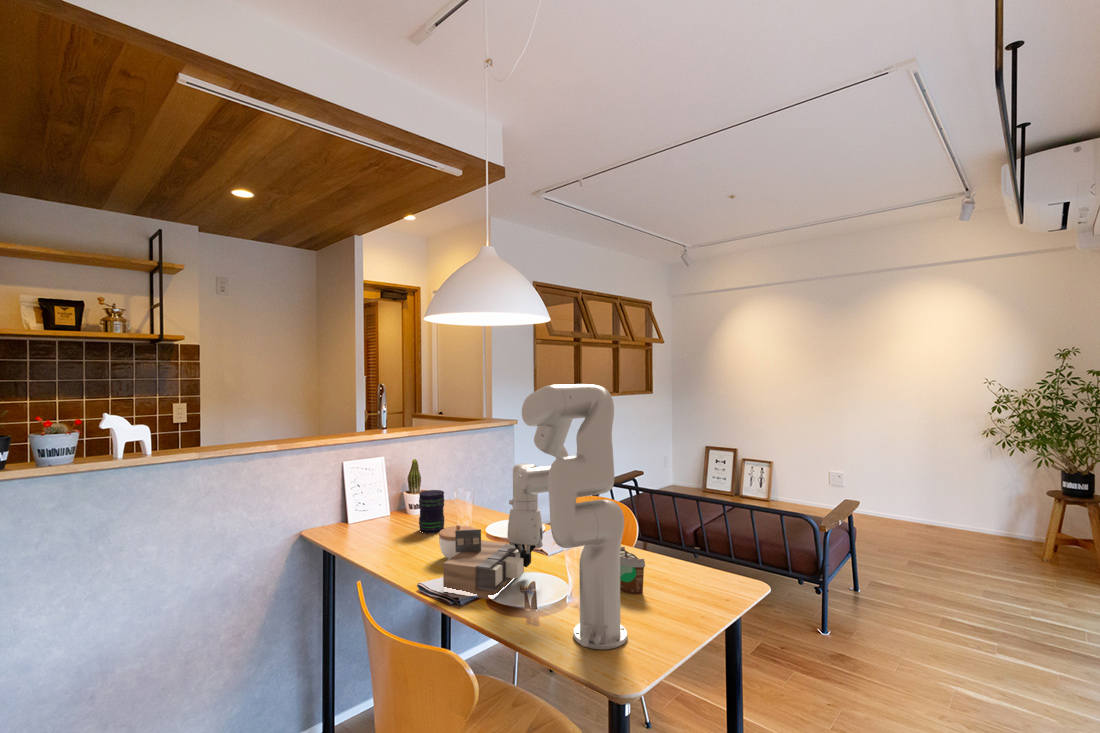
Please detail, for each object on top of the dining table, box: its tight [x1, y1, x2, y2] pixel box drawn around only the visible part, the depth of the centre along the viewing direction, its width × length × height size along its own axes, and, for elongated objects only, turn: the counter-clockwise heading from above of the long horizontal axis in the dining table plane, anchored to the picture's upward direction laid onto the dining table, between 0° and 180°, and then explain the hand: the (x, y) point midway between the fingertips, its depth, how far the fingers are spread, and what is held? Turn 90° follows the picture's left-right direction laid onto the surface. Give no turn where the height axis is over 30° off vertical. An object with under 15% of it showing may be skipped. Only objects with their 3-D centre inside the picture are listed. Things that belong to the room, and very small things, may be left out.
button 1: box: [491, 564, 502, 586], centre depth 147 cm, size 4×5×4 cm
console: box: [442, 528, 525, 600], centre depth 156 cm, size 22×17×15 cm
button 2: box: [511, 549, 520, 558], centre depth 161 cm, size 4×5×4 cm
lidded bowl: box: [438, 524, 477, 561], centre depth 176 cm, size 13×13×11 cm
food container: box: [620, 546, 646, 595], centre depth 150 cm, size 12×6×10 cm, turn 21°
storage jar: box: [418, 489, 445, 534], centre depth 208 cm, size 10×10×15 cm
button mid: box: [503, 557, 524, 580], centre depth 153 cm, size 4×5×4 cm
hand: (525, 565), depth 159 cm, fingers closed
